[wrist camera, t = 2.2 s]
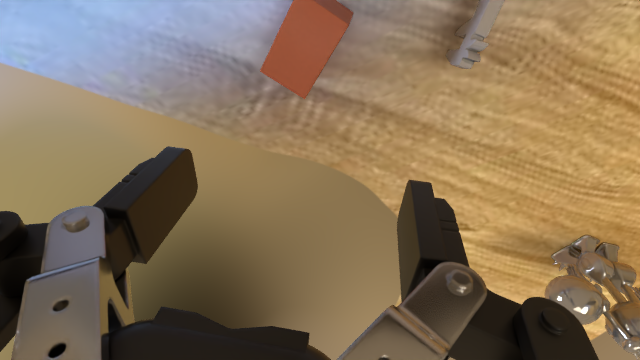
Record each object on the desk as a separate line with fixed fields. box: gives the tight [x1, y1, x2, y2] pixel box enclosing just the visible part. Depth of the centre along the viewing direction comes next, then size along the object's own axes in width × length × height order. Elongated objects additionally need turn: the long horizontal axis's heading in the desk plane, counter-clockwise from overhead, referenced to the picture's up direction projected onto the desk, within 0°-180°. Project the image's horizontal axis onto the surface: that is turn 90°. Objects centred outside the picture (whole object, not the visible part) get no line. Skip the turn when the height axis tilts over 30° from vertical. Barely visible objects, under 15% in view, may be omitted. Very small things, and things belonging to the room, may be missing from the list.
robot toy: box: [545, 235, 640, 358], centre depth 34 cm, size 15×6×15 cm, turn 72°
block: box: [260, 0, 353, 99], centre depth 28 cm, size 4×7×6 cm, turn 150°
